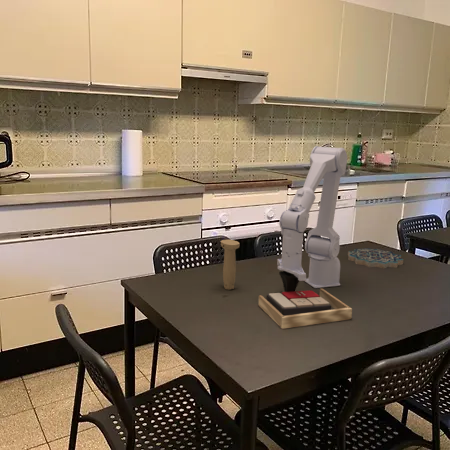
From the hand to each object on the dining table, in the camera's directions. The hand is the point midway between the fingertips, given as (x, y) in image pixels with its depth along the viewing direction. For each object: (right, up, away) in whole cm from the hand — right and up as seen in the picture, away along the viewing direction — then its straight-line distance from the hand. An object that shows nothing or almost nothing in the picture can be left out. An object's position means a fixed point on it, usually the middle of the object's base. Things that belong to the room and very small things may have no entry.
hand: (289, 295), depth 135 cm
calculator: (+1, -4, -6) cm, 7 cm away
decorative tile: (+39, +7, +41) cm, 57 cm away
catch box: (+3, -3, -7) cm, 8 cm away
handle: (-18, +1, +9) cm, 20 cm away
